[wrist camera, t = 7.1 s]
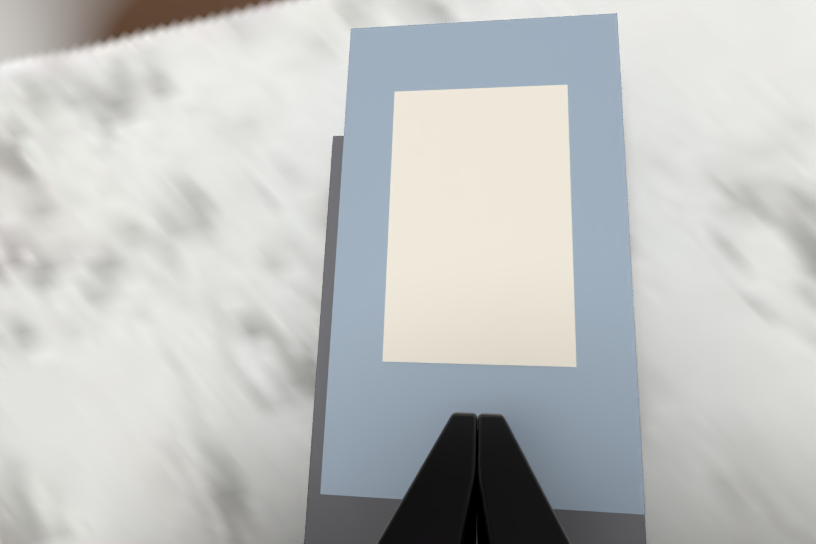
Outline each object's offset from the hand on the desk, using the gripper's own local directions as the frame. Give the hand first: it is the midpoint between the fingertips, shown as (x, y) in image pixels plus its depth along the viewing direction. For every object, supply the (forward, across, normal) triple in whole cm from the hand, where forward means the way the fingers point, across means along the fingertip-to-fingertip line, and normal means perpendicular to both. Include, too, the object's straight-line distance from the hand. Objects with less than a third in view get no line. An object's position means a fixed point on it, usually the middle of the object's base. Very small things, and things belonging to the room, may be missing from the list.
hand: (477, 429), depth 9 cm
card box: (+2, 0, +4) cm, 5 cm away
